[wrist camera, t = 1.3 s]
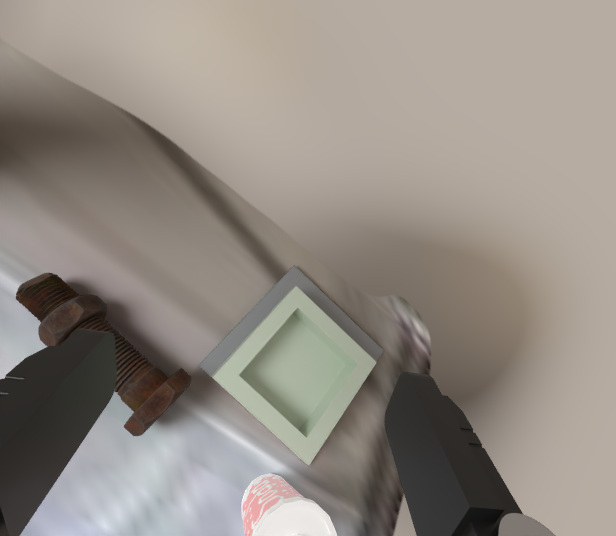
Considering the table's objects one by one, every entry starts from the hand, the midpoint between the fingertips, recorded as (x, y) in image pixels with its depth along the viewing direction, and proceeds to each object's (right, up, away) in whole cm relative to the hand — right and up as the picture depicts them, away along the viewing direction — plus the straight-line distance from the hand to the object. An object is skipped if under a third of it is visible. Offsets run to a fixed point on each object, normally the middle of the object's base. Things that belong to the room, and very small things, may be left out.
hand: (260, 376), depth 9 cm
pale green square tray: (0, -6, +24) cm, 25 cm away
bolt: (-17, -4, +20) cm, 26 cm away
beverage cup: (-2, -18, +20) cm, 27 cm away
